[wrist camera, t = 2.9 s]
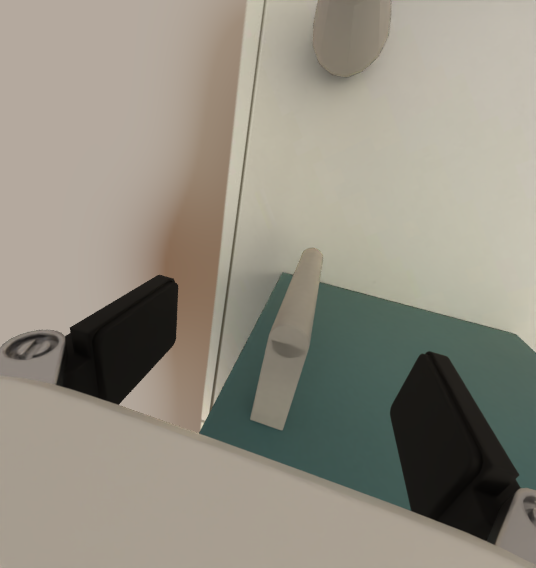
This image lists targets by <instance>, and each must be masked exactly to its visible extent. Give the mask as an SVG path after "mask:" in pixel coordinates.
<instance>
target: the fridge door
mask: <svg viewBox="0 0 536 568" xmlns="http://www.w3.org/2000/svg"><path fill="white" fill-rule="evenodd" d="M322 263H323V255H322V253H321V251H320V250H318V249H316V248H308V249H306V250H305V251H304V252H303V253H302V255H301V258H300V260H299V263H298V265H297V267H296V270H295V272H294V275H290V274H286V273H282V275H281V277H280V278H279V280H278V282H277V284H276V286H275V288H274V290H273V292H272V294H271V296H270V298H269V300H268V302H267V303H266V305H265V307H264V309H263V311H262V313H261V315H260V317H259V319H258V321H257V323H256V325H255V327H254V329H253V330H252V332H251V334H250V336H249V338H248V340H247V342H246V344H245V346H244V348H243V350H242V352H241V354H240V355H239V357H238V359H237V361H236V363H235V365H234V367H233V369H232V371H231V373H230V375H229V377H228V379H227V380H226V382H225V384H224V386H223V388H222V390H221V392H220V394H219V396H218V398H217V400H216V402H215V404H214V405H213V407H212V409H211V411H210V413H209V415H208V417H207V419H206V421H205V423H204V425H203V427H202V429H201V430H200V432H199V434H202V435H205V436H207V437H210V438H213V439H216V440H218V441H221V442H224V443H227V444H229V445H232V446H235V447H238V448H241V449H243V450H246V451H249V452H252V453H254V454H257V455H260V456H263V457H265V458H268V459H271V460H274V461H276V462H279V463H282V464H285V465H288V466H290V467H293V468H296V469H299V470H301V471H304V472H307V473H309V474H312V475H315V476H318V477H320V478H323V479H326V480H328V481H331V482H334V483H337V484H339V485H342V486H345V487H348V488H350V489H353V490H356V491H358V492H361V493H364V494H367V495H369V496H372V497H375V498H377V499H380V500H383V501H386V502H388V503H391V504H394V505H396V506H399V507H402V508H404V509H407V510H409V511H411V508H410V503H409V499H408V494H407V490H406V485H405V481H404V476H403V472H402V467H401V463H400V458H399V454H398V449H397V445H396V440H395V436H394V431H393V427H392V422H391V418H390V409H391V406H392V404H393V402H394V400H395V398H396V396H397V395H398V393H399V391H400V389H401V387H402V386H403V384H404V382H405V380H406V378H407V376H408V375H409V373H410V371H411V369H412V367H413V366H414V364H415V362H416V360H417V358H418V357H419V355H420V354H422V353H423V354H425V353H426V352H428V351H431V352H434V353H438V354H441V355H445V356H447V357H448V358H449V359H450V361H451V362H452V364H453V366H454V367H455V369H456V371H457V372H458V374H459V375H460V377H461V379H462V380H463V382H464V384H465V385H466V387H467V389H468V390H469V392H470V394H471V395H472V397H473V399H474V400H475V402H476V404H477V405H478V407H479V409H480V410H481V412H482V414H483V415H484V417H485V419H486V420H487V422H488V424H489V425H490V427H491V429H492V430H493V432H494V434H495V435H496V437H497V439H498V440H499V442H500V444H501V445H502V447H503V449H504V450H505V452H506V454H507V455H508V457H509V459H510V460H511V462H512V463H513V465H514V467H515V468H516V470H517V472H518V473H519V476H518V477H517V478H516V481H517V482H518V484H519V486H520V487H521V488H529V489H533V490H536V353H535V352H534V351H533V350H532V349H531V348H530V347H529V346H528V345H527V344H526V343H525V342H524V341H523V340H521V339H520V338H519V337H518V336H517V335H516V334H512V333H509V332H505V331H501V330H497V329H493V328H490V327H486V326H482V325H478V324H475V323H471V322H467V321H463V320H460V319H456V318H452V317H448V316H445V315H441V314H437V313H433V312H430V311H426V310H422V309H418V308H414V307H411V306H407V305H403V304H399V303H396V302H392V301H388V300H384V299H381V298H377V297H373V296H369V295H366V294H362V293H358V292H354V291H350V290H347V289H343V288H339V287H335V286H332V285H328V284H324V283H320V276H321V269H322Z"/></svg>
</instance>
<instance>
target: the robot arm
mask: <svg viewBox="0 0 536 568" xmlns="http://www.w3.org/2000/svg"><path fill="white" fill-rule="evenodd" d="M177 302H178V285H177V283H175V281H174V279H172V278H169V277H165V276H162V275H158V276H156V277H154V278H152V279H151V280H149V281H147V282H146V283H144V284H142V285H141V286H139V287H137V288H136V289H134V290H132V291H131V292H129V293H127V294H126V295H124V296H122V297H121V298H119V299H117V300H115V301H114V302H112V303H111V304H109V305H107V306H105V307H104V308H102V309H101V310H99V311H97V312H95V313H94V314H92V315H90V316H89V317H87V318H85V319H84V320H82V321H80V322H79V323H77V324H75V325H74V326H72V327H70V330H71V331H70V332H71V333H70V334H68V335H67V336H64V335H63V334H62V333H60V332H58V331H54V330H36V331H31V332H27V333H23V334H20V335H18V336H16V337H13V338H11V339H10V340H8V341H7V342H5V343H4V344H3V345H2V346H1V347H0V568H536V490H533V489H529V488H521V487H520V486H519V484H518V482H517V481H516V478H517V477H518V476H519V473H518V472H517V470H516V468H515V467H514V465H513V463H512V462H511V460H510V459H509V457H508V455H507V454H506V452H505V450H504V449H503V447H502V445H501V444H500V442H499V440H498V439H497V437H496V435H495V434H494V432H493V430H492V429H491V427H490V425H489V424H488V422H487V420H486V419H485V417H484V415H483V414H482V412H481V410H480V409H479V407H478V405H477V404H476V402H475V400H474V399H473V397H472V395H471V394H470V392H469V390H468V389H467V387H466V385H465V384H464V382H463V380H462V379H461V377H460V375H459V374H458V372H457V371H456V369H455V367H454V366H453V364H452V362H451V361H450V359H449V358H448V357H447V356H445V355H441V354H438V353H434V352H431V351H428V352H426V353H425V354H423V353H422V354H420V355H419V357H418V358H417V360H416V362H415V364H414V366H413V367H412V369H411V371H410V373H409V375H408V376H407V378H406V380H405V382H404V384H403V386H402V387H401V389H400V391H399V393H398V395H397V396H396V398H395V400H394V402H393V404H392V406H391V409H390V418H391V422H392V427H393V431H394V436H395V440H396V445H397V449H398V454H399V458H400V463H401V467H402V472H403V476H404V481H405V485H406V490H407V494H408V499H409V503H410V508H411V511H409V510H407V509H404V508H402V507H399V506H396V505H394V504H391V503H388V502H386V501H383V500H380V499H377V498H375V497H372V496H369V495H367V494H364V493H361V492H358V491H356V490H353V489H350V488H348V487H345V486H342V485H339V484H337V483H334V482H331V481H328V480H326V479H323V478H320V477H318V476H315V475H312V474H309V473H307V472H304V471H301V470H299V469H296V468H293V467H290V466H288V465H285V464H282V463H279V462H276V461H274V460H271V459H268V458H265V457H263V456H260V455H257V454H254V453H252V452H249V451H246V450H243V449H241V448H238V447H235V446H232V445H229V444H227V443H224V442H221V441H218V440H216V439H213V438H210V437H207V436H205V435H202V434H199V433H196V432H193V431H191V430H188V429H185V428H182V427H179V426H176V425H174V424H170V423H168V422H165V421H162V420H160V419H157V418H154V417H151V416H148V415H145V414H143V413H140V412H137V411H134V410H131V409H128V408H126V407H123V406H120V405H119V404H120V403H121V402H122V400H123V399H124V398H125V397H126V396H127V395H128V394H129V393H130V392H131V390H133V388H134V387H135V386H136V385H137V384H138V383H139V382H140V381H141V380H142V379H143V378H144V377H145V376H146V374H147V373H148V372H149V371H150V370H151V369H152V368H153V367H154V366H155V365H156V363H157V362H158V361H159V360H160V359H161V358H162V357H163V356H164V355H165V354H166V352H168V351H169V349H170V348H171V347H172V346H173V345H174V343H175V340H176V326H177Z"/></svg>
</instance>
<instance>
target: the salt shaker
mask: <svg viewBox="0 0 536 568" xmlns="http://www.w3.org/2000/svg"><path fill="white" fill-rule="evenodd" d="M390 20H391V0H318V3H317V8H316V13H315V18H314V23H313V48H314V51H315V54H316V56H317V59H318V62H319V64H320V65H321V66H322V67H324V68H325V69H326V70H327V71H328V72H329V73H331V74H332V75H337V76H342V77H346V78H347V77H349V76H352V75H354V74H357V73H360V72H362V71H363V70H365V69H366V68H367V67H368V66H369V65H370V64H371V63H372V62H373V61H374V60H375V59H376V58H377V57H378V56H379V54H380V52H381V50H382V48H383V46H384V44H385V42H386V40H387V38H388V35H389V27H390Z"/></svg>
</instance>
